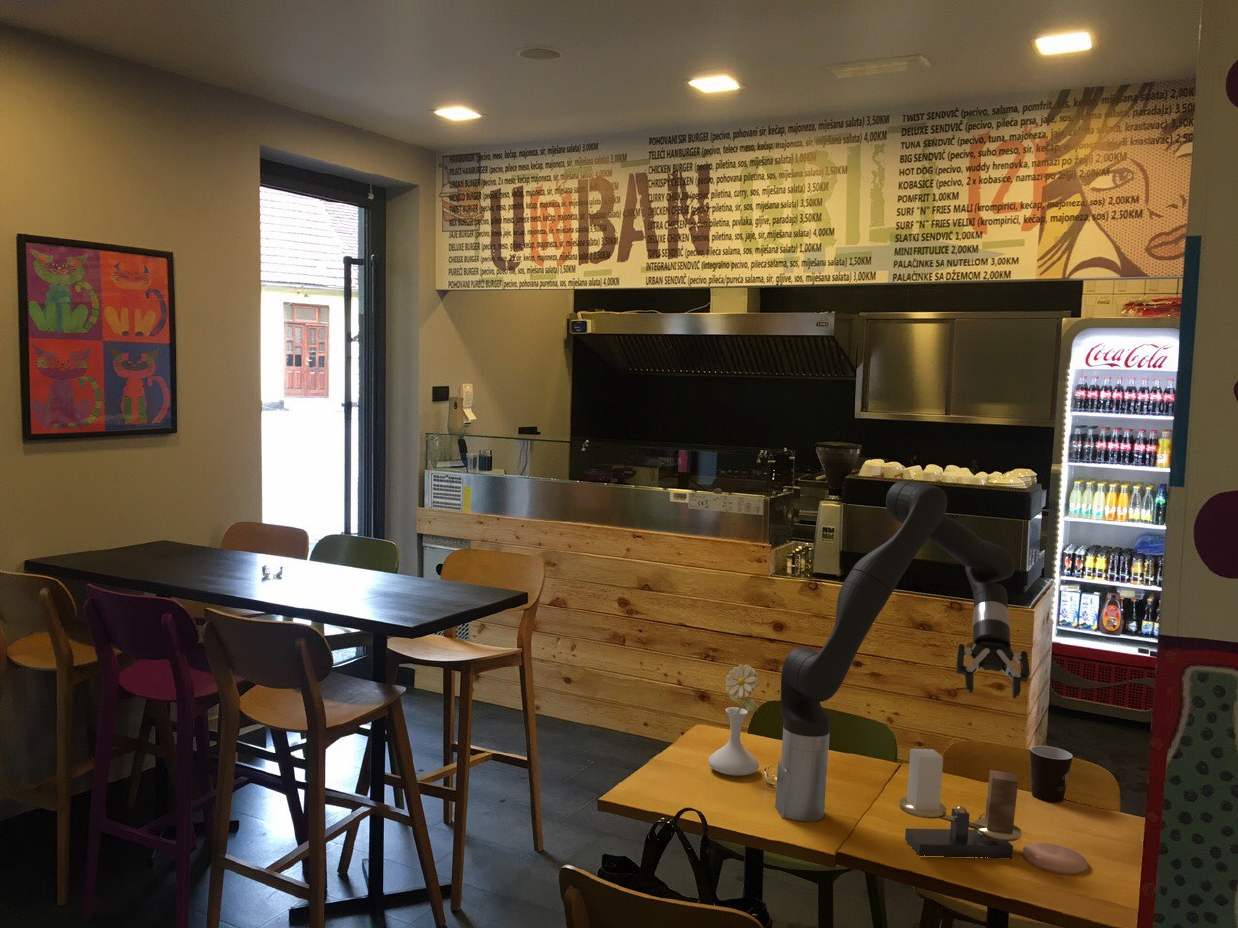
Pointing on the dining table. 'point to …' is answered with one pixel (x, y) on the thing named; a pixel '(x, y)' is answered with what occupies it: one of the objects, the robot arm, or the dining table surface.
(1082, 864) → the saucer
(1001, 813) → the walnut block
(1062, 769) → the coffee mug
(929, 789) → the pale block
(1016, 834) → the balance
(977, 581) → the robot arm
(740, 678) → the flower in vase
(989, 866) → the dining table surface
